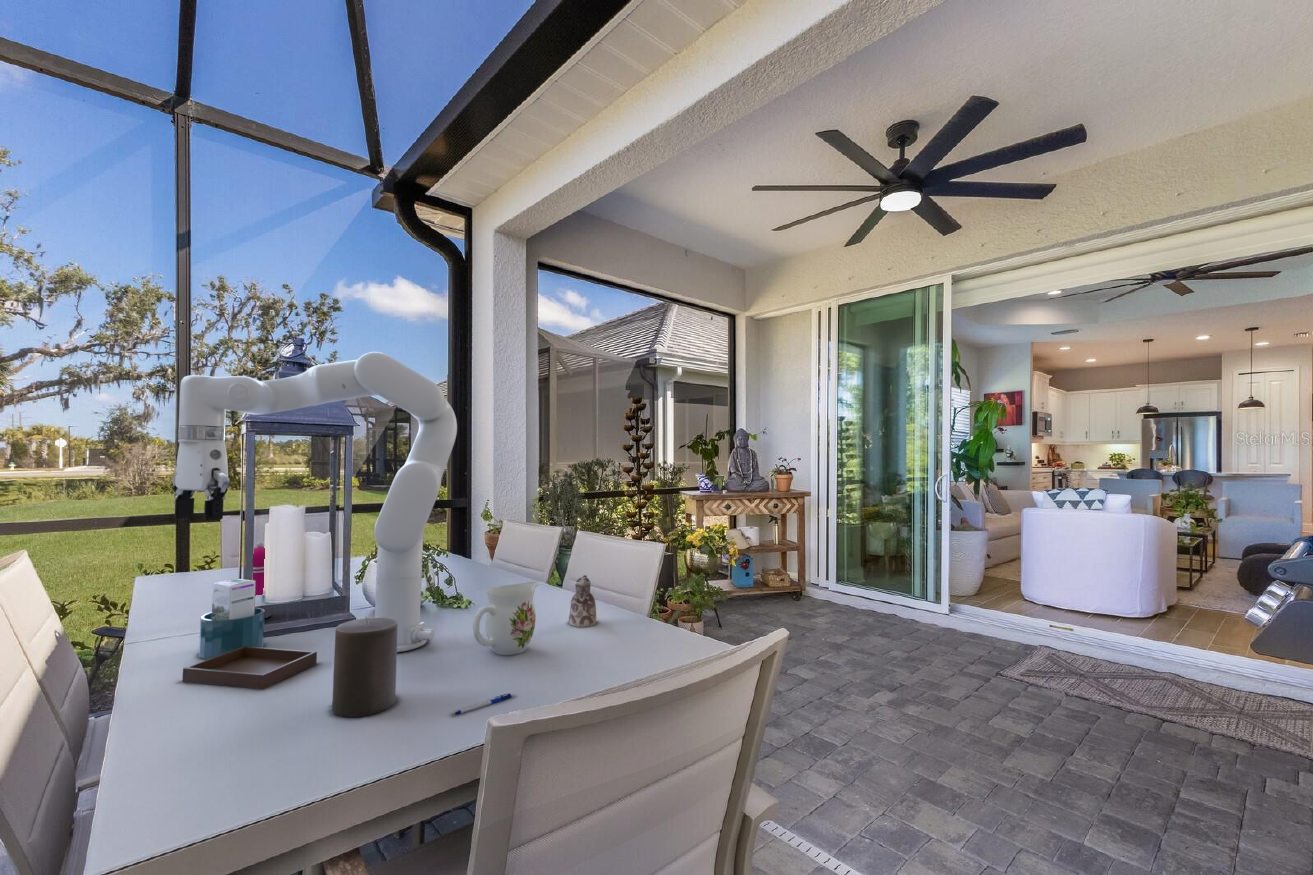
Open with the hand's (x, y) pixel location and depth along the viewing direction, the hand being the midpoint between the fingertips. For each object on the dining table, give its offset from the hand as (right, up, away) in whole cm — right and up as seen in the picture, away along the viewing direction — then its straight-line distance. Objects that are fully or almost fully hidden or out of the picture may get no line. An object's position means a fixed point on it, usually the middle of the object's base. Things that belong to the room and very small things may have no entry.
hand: (198, 518), depth 118 cm
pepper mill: (-10, -31, +32) cm, 45 cm away
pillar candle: (+44, -30, -20) cm, 57 cm away
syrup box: (+2, -29, +7) cm, 30 cm away
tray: (+15, -29, -6) cm, 33 cm away
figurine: (+75, -32, +32) cm, 88 cm away
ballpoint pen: (+65, -30, -19) cm, 74 cm away
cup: (+2, -30, +7) cm, 31 cm away
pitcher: (+61, -31, +9) cm, 69 cm away
